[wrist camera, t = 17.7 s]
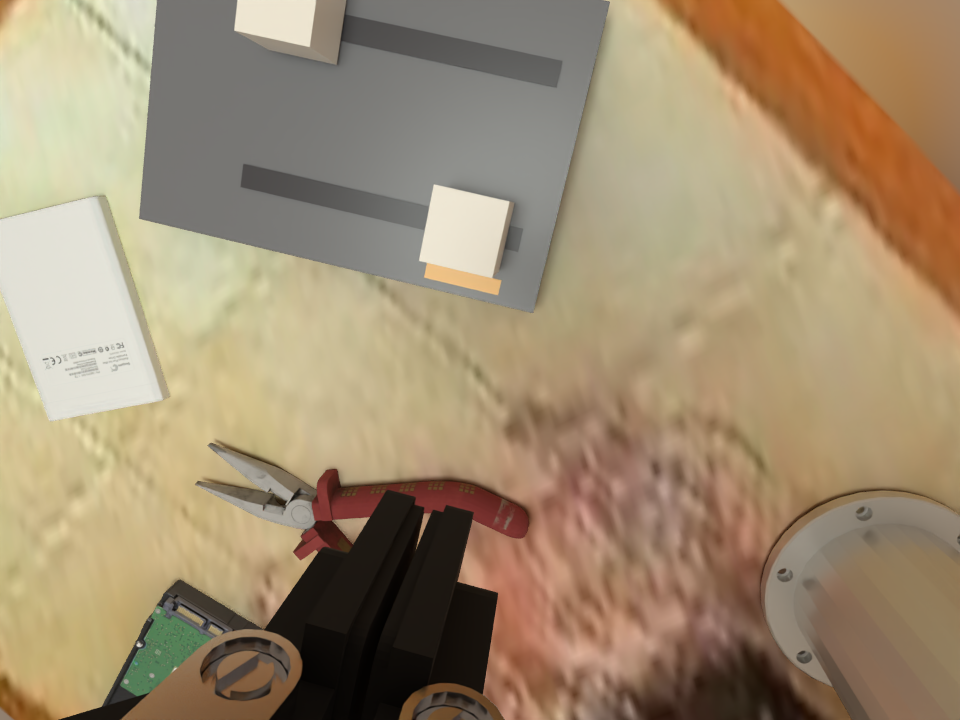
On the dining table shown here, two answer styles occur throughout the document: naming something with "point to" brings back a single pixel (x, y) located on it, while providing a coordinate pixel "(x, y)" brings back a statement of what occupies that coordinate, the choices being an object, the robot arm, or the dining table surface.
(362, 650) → the robot arm
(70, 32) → the dining table surface
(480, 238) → the tab
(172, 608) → the disk drive
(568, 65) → the switch board
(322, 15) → the tab
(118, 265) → the external hard drive
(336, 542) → the pliers
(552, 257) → the dining table surface
